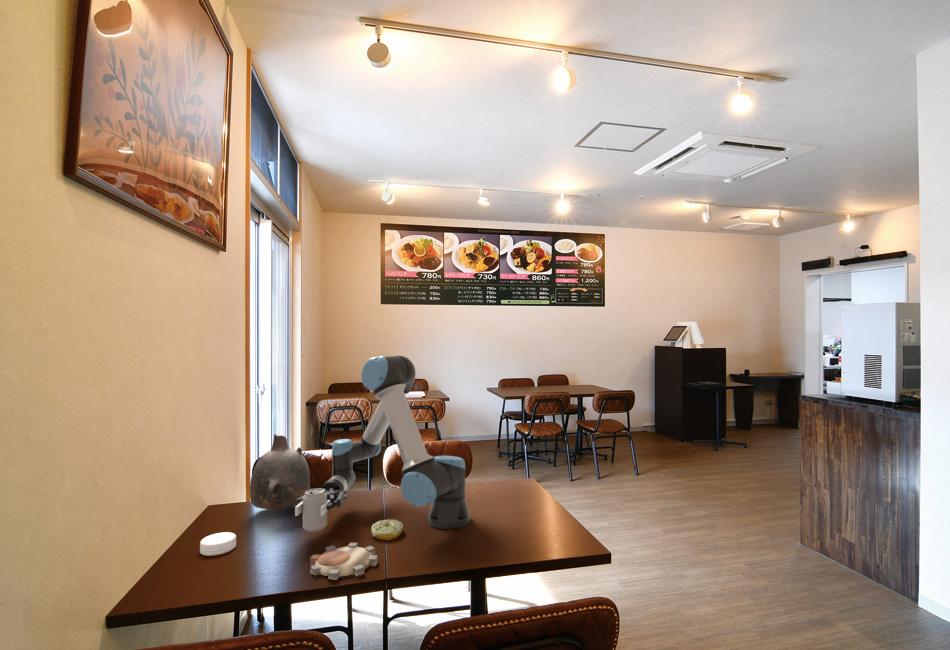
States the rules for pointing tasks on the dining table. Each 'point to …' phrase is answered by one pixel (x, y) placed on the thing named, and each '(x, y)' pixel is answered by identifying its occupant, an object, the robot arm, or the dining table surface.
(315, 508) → the can
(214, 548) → the white thick disc
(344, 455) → the robot arm
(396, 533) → the decorated donut
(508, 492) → the dining table surface
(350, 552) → the sprocket wheel
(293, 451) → the jug
